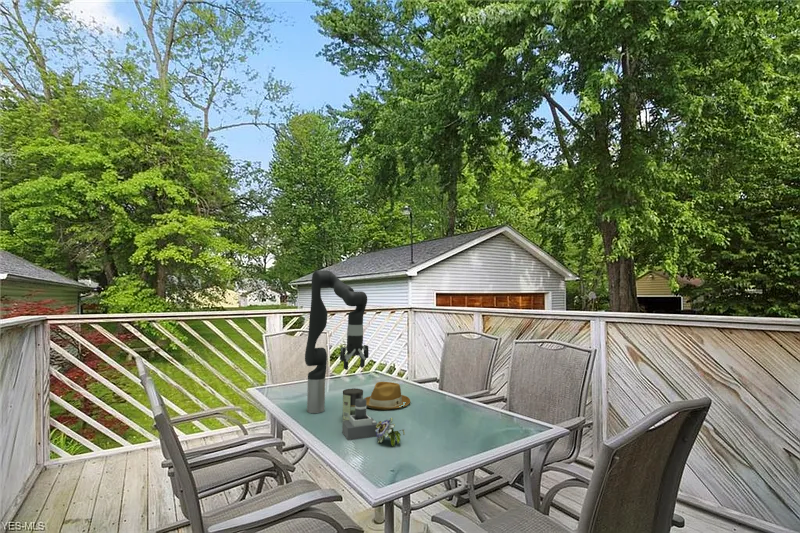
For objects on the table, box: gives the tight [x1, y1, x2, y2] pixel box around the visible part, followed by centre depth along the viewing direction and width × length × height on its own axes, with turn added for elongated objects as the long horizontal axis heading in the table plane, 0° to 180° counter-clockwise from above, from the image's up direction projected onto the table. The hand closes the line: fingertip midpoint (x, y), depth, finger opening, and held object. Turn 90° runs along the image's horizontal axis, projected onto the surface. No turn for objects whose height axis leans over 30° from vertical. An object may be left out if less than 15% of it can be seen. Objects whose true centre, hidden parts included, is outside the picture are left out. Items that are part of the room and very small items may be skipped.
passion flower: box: [375, 417, 406, 448], centre depth 169 cm, size 11×11×12 cm
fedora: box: [363, 381, 411, 411], centre depth 226 cm, size 27×29×12 cm
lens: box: [355, 397, 368, 420], centre depth 179 cm, size 5×5×10 cm
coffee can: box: [342, 387, 364, 421], centre depth 199 cm, size 10×10×14 cm
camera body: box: [341, 413, 379, 441], centre depth 178 cm, size 10×14×8 cm
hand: (354, 368), depth 186 cm, fingers open, 8 cm apart
